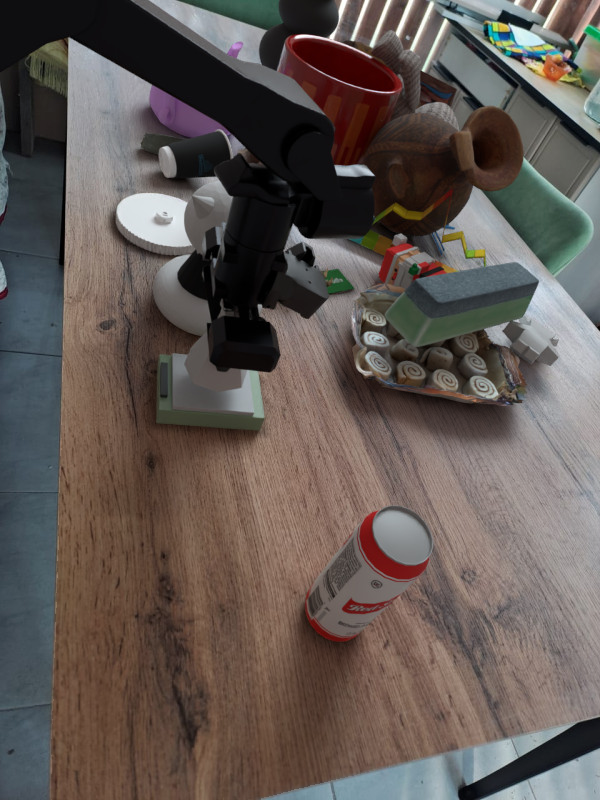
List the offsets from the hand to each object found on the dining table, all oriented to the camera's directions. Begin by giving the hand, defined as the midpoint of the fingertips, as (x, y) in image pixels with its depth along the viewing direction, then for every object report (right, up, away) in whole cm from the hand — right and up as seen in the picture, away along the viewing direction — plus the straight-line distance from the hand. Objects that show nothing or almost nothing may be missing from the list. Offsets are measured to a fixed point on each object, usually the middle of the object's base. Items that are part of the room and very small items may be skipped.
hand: (220, 353), depth 63 cm
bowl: (+21, +60, +70) cm, 94 cm away
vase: (+6, +74, +81) cm, 110 cm away
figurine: (+30, +12, +29) cm, 43 cm away
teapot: (-12, +52, +53) cm, 75 cm away
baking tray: (+28, 0, +23) cm, 36 cm away
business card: (+14, +12, +28) cm, 33 cm away
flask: (-1, -2, +2) cm, 3 cm away
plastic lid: (-12, +23, +23) cm, 35 cm away
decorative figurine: (-4, +7, +16) cm, 18 cm away
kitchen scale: (-2, -5, +5) cm, 8 cm away
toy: (+21, +64, +50) cm, 84 cm away
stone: (-15, +40, +42) cm, 60 cm away
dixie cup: (-14, +35, +33) cm, 50 cm away
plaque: (+33, +65, +59) cm, 94 cm away
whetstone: (+35, +12, +19) cm, 42 cm away
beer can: (+12, -26, -7) cm, 29 cm away
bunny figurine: (+44, +2, +26) cm, 51 cm away
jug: (+27, +38, +49) cm, 68 cm away
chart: (+32, +19, +42) cm, 56 cm away
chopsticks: (+37, +32, +56) cm, 74 cm away
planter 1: (+11, +43, +55) cm, 71 cm away
